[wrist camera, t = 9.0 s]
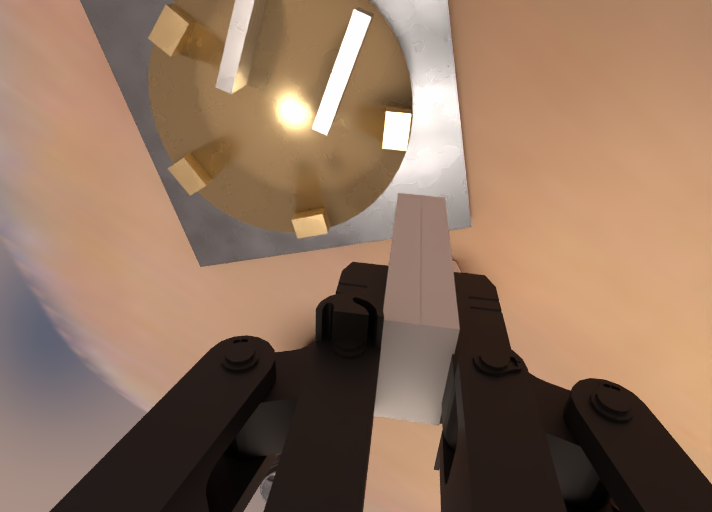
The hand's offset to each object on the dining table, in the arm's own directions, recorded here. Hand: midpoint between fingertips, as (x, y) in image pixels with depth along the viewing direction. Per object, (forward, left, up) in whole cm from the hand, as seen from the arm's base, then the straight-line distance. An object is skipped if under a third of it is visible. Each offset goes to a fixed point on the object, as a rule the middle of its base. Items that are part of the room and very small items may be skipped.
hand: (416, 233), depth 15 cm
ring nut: (+9, -1, -20) cm, 22 cm away
